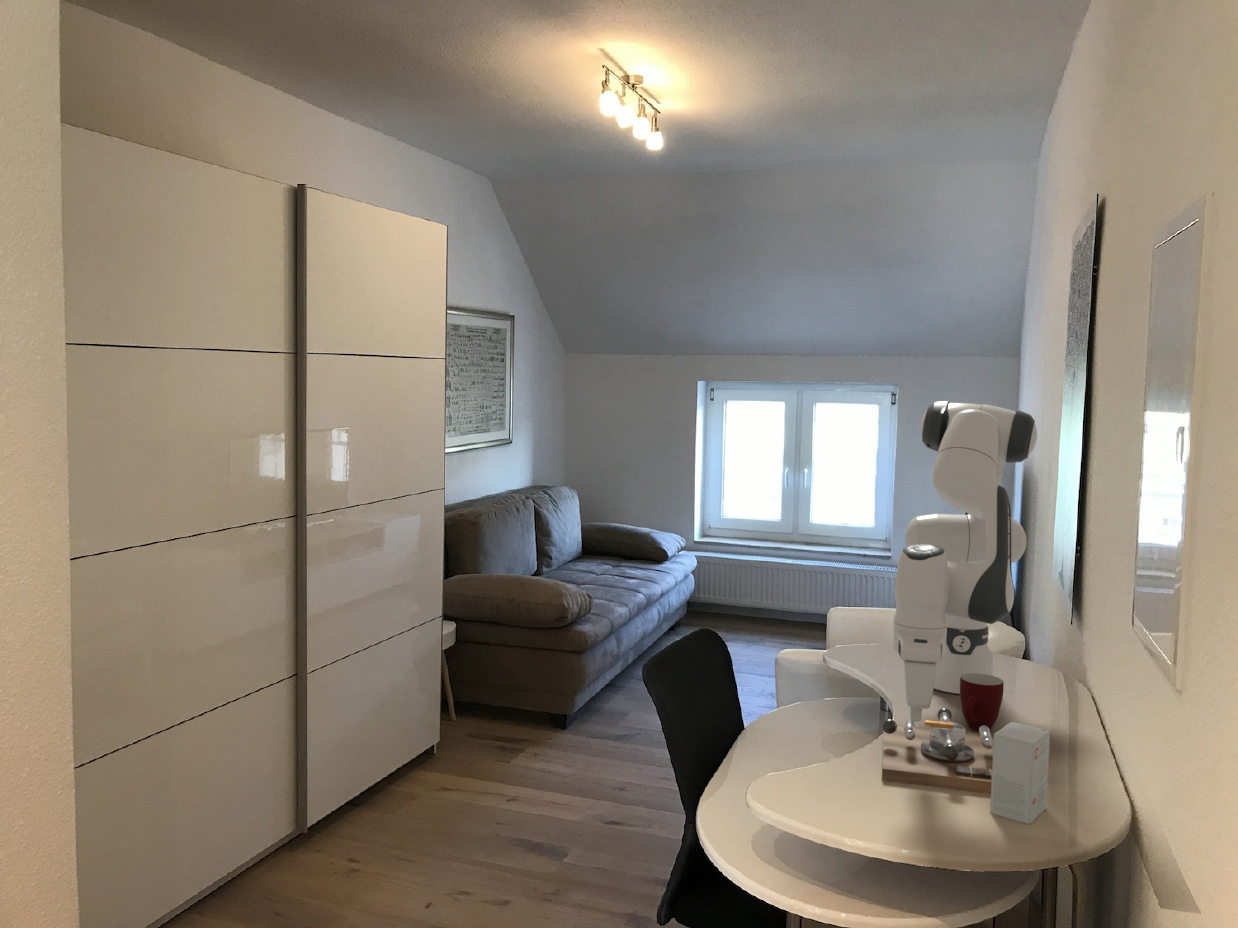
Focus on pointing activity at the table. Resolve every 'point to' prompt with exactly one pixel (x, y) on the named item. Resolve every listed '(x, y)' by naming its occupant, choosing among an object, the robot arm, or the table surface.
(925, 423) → the robot arm
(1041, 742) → the small box
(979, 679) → the mug
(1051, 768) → the table surface
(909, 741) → the cutting board
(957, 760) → the capstan
